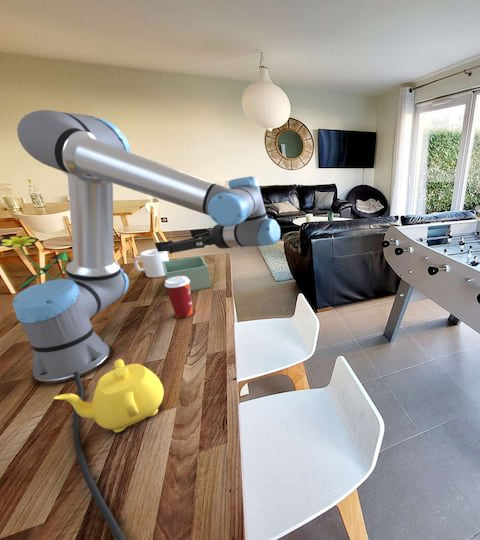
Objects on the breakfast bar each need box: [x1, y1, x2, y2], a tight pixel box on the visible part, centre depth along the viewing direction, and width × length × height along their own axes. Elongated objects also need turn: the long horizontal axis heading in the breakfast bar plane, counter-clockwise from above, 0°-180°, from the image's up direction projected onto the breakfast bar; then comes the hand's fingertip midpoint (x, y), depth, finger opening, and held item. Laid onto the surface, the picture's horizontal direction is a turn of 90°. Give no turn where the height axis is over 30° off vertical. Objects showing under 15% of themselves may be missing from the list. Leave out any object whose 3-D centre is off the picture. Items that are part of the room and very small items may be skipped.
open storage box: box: [162, 255, 212, 292], centre depth 126 cm, size 16×16×10 cm
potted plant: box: [0, 234, 73, 290], centre depth 94 cm, size 18×19×30 cm
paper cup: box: [164, 276, 194, 319], centre depth 103 cm, size 8×8×14 cm
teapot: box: [53, 358, 165, 433], centre depth 64 cm, size 14×14×12 cm
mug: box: [133, 248, 170, 278], centre depth 135 cm, size 14×10×11 cm
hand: (175, 240), depth 92 cm, fingers open, 13 cm apart
